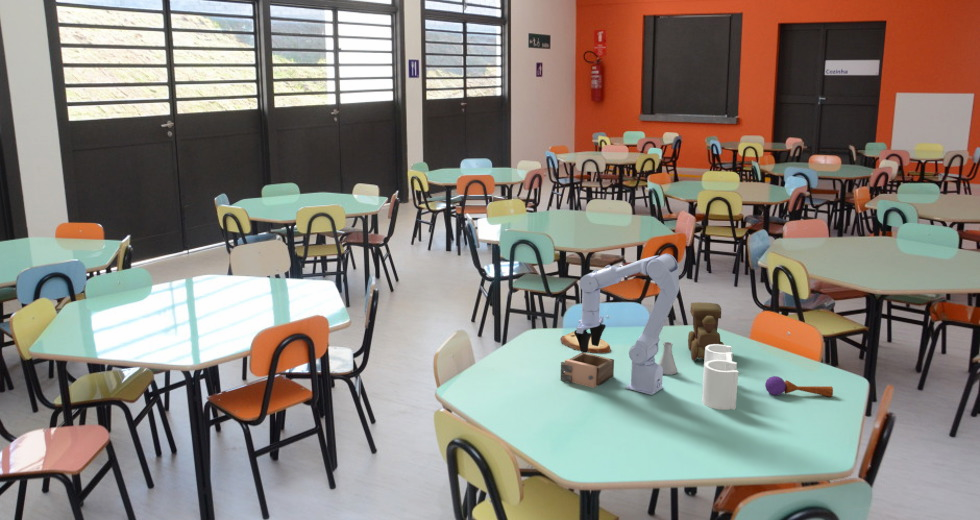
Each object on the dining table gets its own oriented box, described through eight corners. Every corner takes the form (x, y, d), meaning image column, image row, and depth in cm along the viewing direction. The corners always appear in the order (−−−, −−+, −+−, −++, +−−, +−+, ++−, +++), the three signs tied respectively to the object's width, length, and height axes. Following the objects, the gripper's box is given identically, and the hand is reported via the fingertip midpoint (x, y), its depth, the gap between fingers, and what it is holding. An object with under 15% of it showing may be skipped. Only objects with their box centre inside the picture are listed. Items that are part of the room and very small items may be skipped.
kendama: (836, 389, 251) (769, 381, 252) (831, 405, 253) (765, 398, 255) (830, 378, 256) (765, 371, 257) (826, 394, 258) (762, 387, 260)
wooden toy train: (685, 345, 301) (688, 301, 297) (717, 346, 300) (720, 302, 296) (691, 364, 282) (694, 318, 278) (725, 365, 281) (728, 319, 277)
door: (596, 386, 263) (596, 366, 261) (592, 388, 261) (592, 368, 259) (566, 379, 269) (567, 358, 268) (563, 381, 267) (563, 361, 266)
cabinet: (613, 376, 271) (614, 359, 269) (593, 388, 261) (594, 371, 259) (578, 367, 279) (579, 351, 277) (558, 379, 268) (558, 362, 267)
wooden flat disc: (612, 354, 293) (612, 344, 292) (561, 353, 294) (561, 343, 293) (607, 338, 310) (607, 328, 309) (559, 337, 311) (560, 328, 310)
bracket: (700, 377, 270) (702, 343, 267) (731, 380, 268) (733, 345, 265) (702, 408, 246) (704, 370, 243) (736, 411, 244) (738, 372, 241)
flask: (676, 368, 279) (677, 340, 276) (678, 375, 272) (680, 347, 269) (654, 367, 279) (656, 339, 277) (656, 375, 272) (658, 346, 270)
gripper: (590, 302, 274) (589, 340, 278) (568, 312, 263) (567, 352, 266) (609, 305, 270) (608, 344, 274) (588, 316, 259) (586, 356, 262)
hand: (589, 348), depth 270 cm, fingers open, 7 cm apart
